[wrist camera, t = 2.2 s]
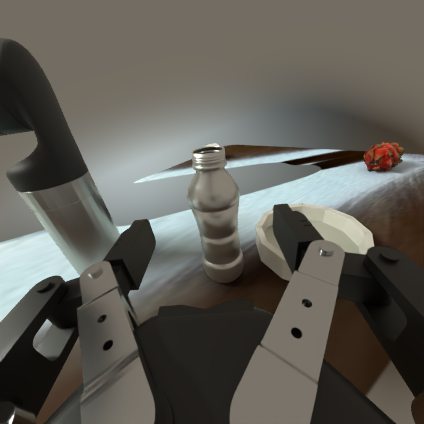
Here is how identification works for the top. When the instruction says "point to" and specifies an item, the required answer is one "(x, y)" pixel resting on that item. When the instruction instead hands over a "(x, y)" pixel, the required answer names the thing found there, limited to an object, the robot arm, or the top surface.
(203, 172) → the plastic bottle
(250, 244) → the top surface
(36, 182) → the robot arm
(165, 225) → the top surface
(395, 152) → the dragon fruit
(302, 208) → the bowl
